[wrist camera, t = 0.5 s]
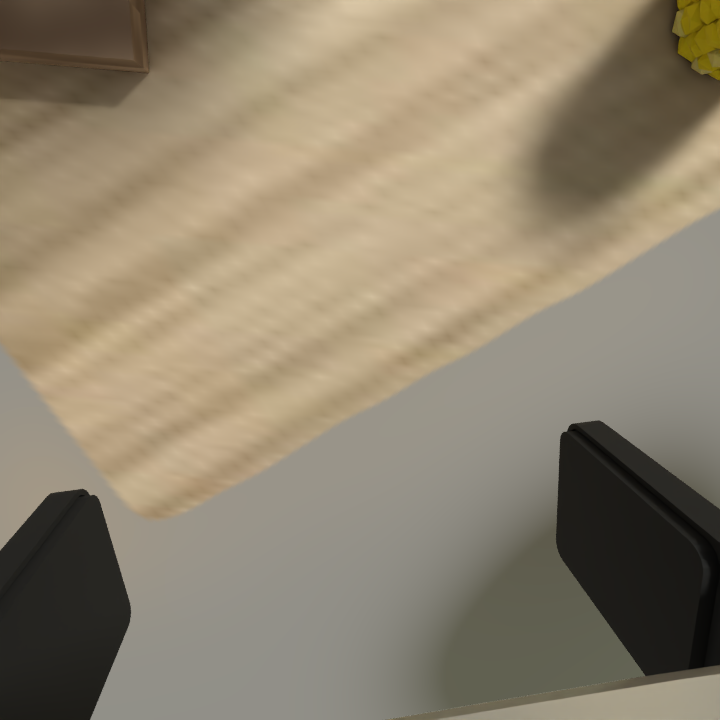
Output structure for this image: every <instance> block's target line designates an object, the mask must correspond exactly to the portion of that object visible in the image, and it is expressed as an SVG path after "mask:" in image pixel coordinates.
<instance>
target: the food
mask: <svg viewBox="0 0 720 720" xmlns="http://www.w3.org/2000/svg"><path fill="white" fill-rule="evenodd" d="M677 6H678V9H679V11H677V14H676V18H675V22H674V26H673V30H672V32H673V33H675V34H676V35H678V36H680V39H679V42H678V54H680V55H681V56H683V57H684V58H686V59H687V60H689V61H691V62H692V65H691V68H692V69H694V70H695V71H697V72H698V73H700V74H701V75H702V74H708V75H710V76H712V77H713V78H715V79H717V80H720V0H677Z"/></svg>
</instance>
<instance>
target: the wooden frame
mask: <svg viewBox="0 0 720 720" xmlns="http://www.w3.org/2000/svg"><path fill="white" fill-rule="evenodd" d="M0 61H11V62H23V63H35V64H47V65H59V66H71V67H83V68H95V69H107V70H119V71H131V72H143V73H149V60H148V45H147V29H146V14H145V0H0Z"/></svg>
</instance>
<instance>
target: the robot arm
mask: <svg viewBox="0 0 720 720" xmlns="http://www.w3.org/2000/svg"><path fill="white" fill-rule="evenodd" d="M558 483H559V484H558V506H557V507H558V508H557V531H556V532H557V533H556V543H557V548H558V552H559V554H560V556H561V558H562V560H563V561H564V563H565V564H566V565H567V567H568V568H569V570H570V571H571V572H572V574H573V575H574V577H575V578H576V579H577V581H578V582H579V583H580V585H581V586H582V588H583V589H584V590H585V592H586V593H587V595H588V596H589V597H590V599H591V600H592V602H593V603H594V604H595V606H596V607H597V609H598V610H599V611H600V613H601V614H602V616H603V617H604V618H605V620H606V621H607V623H608V624H609V625H610V627H611V628H612V629H613V631H614V632H615V634H616V635H617V637H618V638H619V639H620V641H621V642H622V643H623V645H624V646H625V648H626V649H627V651H628V652H629V653H630V655H631V656H632V657H633V659H634V660H635V662H636V663H637V664H638V666H639V667H640V668H641V670H642V671H643V673H644V674H645V676H643V677H637V678H631V679H625V680H619V681H613V682H607V683H601V684H595V685H589V686H583V687H577V688H571V689H565V690H559V691H553V692H547V693H541V694H535V695H529V696H523V697H517V698H511V699H506V700H499V701H493V702H487V703H481V704H475V705H469V706H463V707H457V708H452V709H446V710H440V711H435V712H428V713H422V714H417V715H411V716H405V717H399V718H393V719H388V720H720V509H719V508H717V507H716V506H714V505H713V504H712V503H710V502H709V501H708V500H706V499H705V498H704V497H702V496H701V495H700V494H698V493H697V492H696V491H694V490H693V489H692V488H690V487H689V486H688V485H686V484H685V483H684V482H682V481H681V480H679V479H678V478H677V477H676V476H674V475H673V474H671V473H670V472H669V471H668V470H666V469H665V468H663V467H662V466H661V465H660V464H658V463H657V462H655V461H654V460H653V459H652V458H650V457H649V456H647V455H646V454H645V453H643V452H642V451H641V450H640V449H638V448H637V447H635V446H634V445H633V444H631V443H630V442H629V441H627V440H626V439H625V438H623V437H622V436H621V435H619V434H618V433H617V432H615V431H614V430H613V429H611V428H610V427H609V426H607V425H606V424H604V423H603V422H601V421H591V422H583V423H575V424H571V425H570V426H569V428H568V431H567V432H563V433H562V435H561V439H560V459H559V482H558ZM130 617H131V607H130V602H129V599H128V595H127V592H126V588H125V585H124V582H123V579H122V575H121V572H120V568H119V565H118V561H117V558H116V555H115V551H114V548H113V545H112V541H111V538H110V535H109V531H108V528H107V524H106V521H105V518H104V514H103V511H102V508H101V504H100V501H99V499H98V498H97V496H95V495H91V496H90V495H89V493H88V492H87V491H86V490H84V489H79V490H72V491H64V492H56V493H51V494H50V495H48V496H47V497H46V498H45V500H44V501H43V502H42V503H41V504H40V506H38V508H37V509H36V510H35V511H34V512H33V513H32V515H31V516H30V517H29V518H28V519H27V521H26V522H25V523H24V524H23V525H22V526H21V527H20V528H19V530H18V531H17V532H16V533H15V534H14V536H13V537H12V538H11V539H10V540H9V541H8V542H7V544H6V545H5V546H4V547H3V548H2V549H1V551H0V720H90V718H91V716H92V713H93V711H94V709H95V706H96V704H97V701H98V699H99V696H100V694H101V692H102V689H103V687H104V684H105V682H106V679H107V677H108V674H109V672H110V670H111V667H112V665H113V662H114V660H115V658H116V655H117V653H118V650H119V648H120V645H121V643H122V641H123V638H124V635H125V633H126V631H127V628H128V626H129V623H130Z"/></svg>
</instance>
